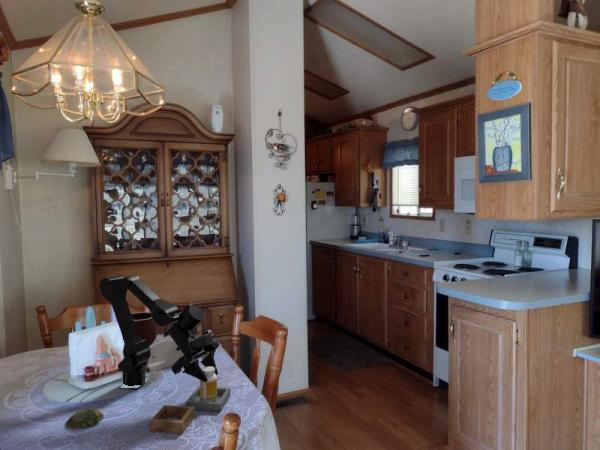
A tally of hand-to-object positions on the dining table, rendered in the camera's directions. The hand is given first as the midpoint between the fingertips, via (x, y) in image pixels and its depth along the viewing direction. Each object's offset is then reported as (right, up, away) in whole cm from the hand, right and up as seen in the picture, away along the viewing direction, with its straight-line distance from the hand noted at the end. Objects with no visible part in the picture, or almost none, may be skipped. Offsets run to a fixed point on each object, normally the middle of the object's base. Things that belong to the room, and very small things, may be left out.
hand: (212, 378), depth 135 cm
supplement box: (-17, -6, +44) cm, 47 cm away
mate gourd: (-38, -6, +39) cm, 55 cm away
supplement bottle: (-1, -7, +1) cm, 7 cm away
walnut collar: (-9, -9, -12) cm, 17 cm away
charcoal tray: (-1, -8, +1) cm, 8 cm away
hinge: (-26, -7, +33) cm, 42 cm away
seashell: (-35, -9, -11) cm, 37 cm away
